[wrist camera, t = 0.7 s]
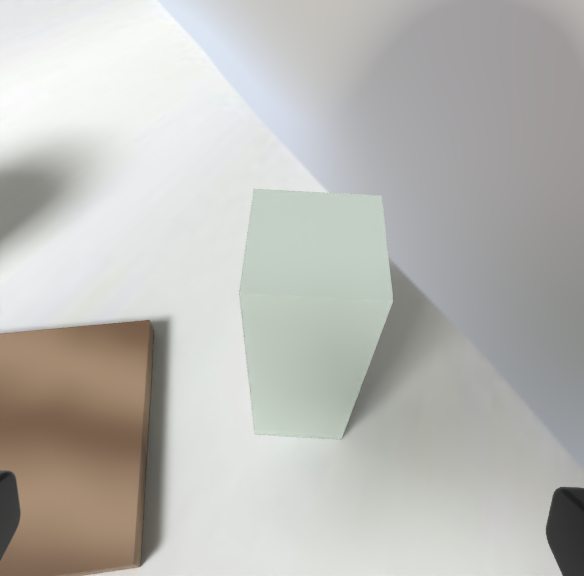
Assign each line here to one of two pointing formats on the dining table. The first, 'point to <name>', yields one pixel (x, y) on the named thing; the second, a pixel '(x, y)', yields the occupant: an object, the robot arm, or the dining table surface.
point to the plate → (76, 446)
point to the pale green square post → (312, 307)
